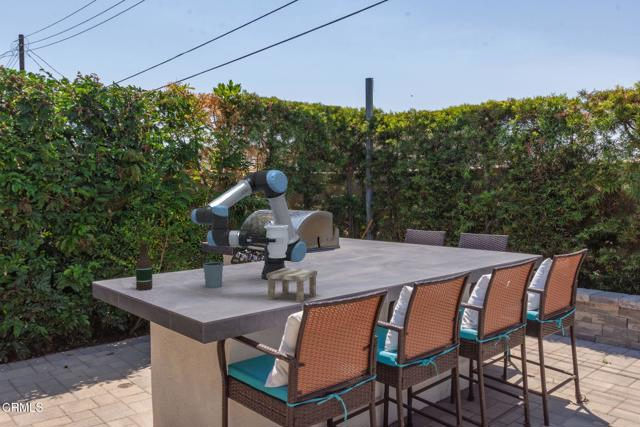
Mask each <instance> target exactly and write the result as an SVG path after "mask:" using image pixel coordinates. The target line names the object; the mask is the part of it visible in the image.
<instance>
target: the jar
mask: <svg viewBox="0 0 640 427" xmlns="http://www.w3.org/2000/svg"><path fill="white" fill-rule="evenodd" d="M265 228H266V234H265V235H266V238H269V237H275V238H284V244H271V243H269V245H267V249H268V252H269V256H268V257H269V258H285V257H286V255H285V253H286V250H287V245H288V231H287V228H288V225H276V224H267V225H266V226H265Z"/></svg>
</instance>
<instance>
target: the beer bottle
mask: <svg viewBox="0 0 640 427" xmlns="http://www.w3.org/2000/svg"><path fill="white" fill-rule="evenodd" d="M139 247H140V248H139V259H138V260H137V262H136V264H135V277H136V278H135V283H136V284H135V288H136V290H137V291H149V290H152V289H153V263H152V260H151V259H150V258H149V253H148V252H149V251H148V242H146V241H142V242H140V243H139Z"/></svg>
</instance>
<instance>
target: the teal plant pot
mask: <svg viewBox="0 0 640 427" xmlns="http://www.w3.org/2000/svg"><path fill="white" fill-rule="evenodd" d="M202 265H203V273H204V274H203V276H204V285H205V288H210V289H211V288H214V289H216V288H221V287H222V286H223V269H224V268H223V267H224V263H223V262H218V261H217V262H216V261H214V262H205V263H203V264H202Z"/></svg>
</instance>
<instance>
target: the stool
mask: <svg viewBox="0 0 640 427" xmlns="http://www.w3.org/2000/svg"><path fill="white" fill-rule="evenodd" d="M317 275H318V270H316V269H315V270H314V269H300V268H287V267H286V268H283V269H280V270H277V271H274V272H271V273H268V274H267V278H268V279H267V300H269V301H272V300H273V301H274V300H275V299H276V280H275V279H278V280H281V293H282V294H284V295H285V294H286V295H287V294H289V292H290V291H289V290H290V281H295V282H296V303H302V304H303V303H304V301H305V300H304V298H305V296H304V294H305V291H304V288H305V286H304V283H305V282H304V281H305V280H309V286H308V287H309V295H308V296H309V297H315V296H317Z"/></svg>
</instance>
